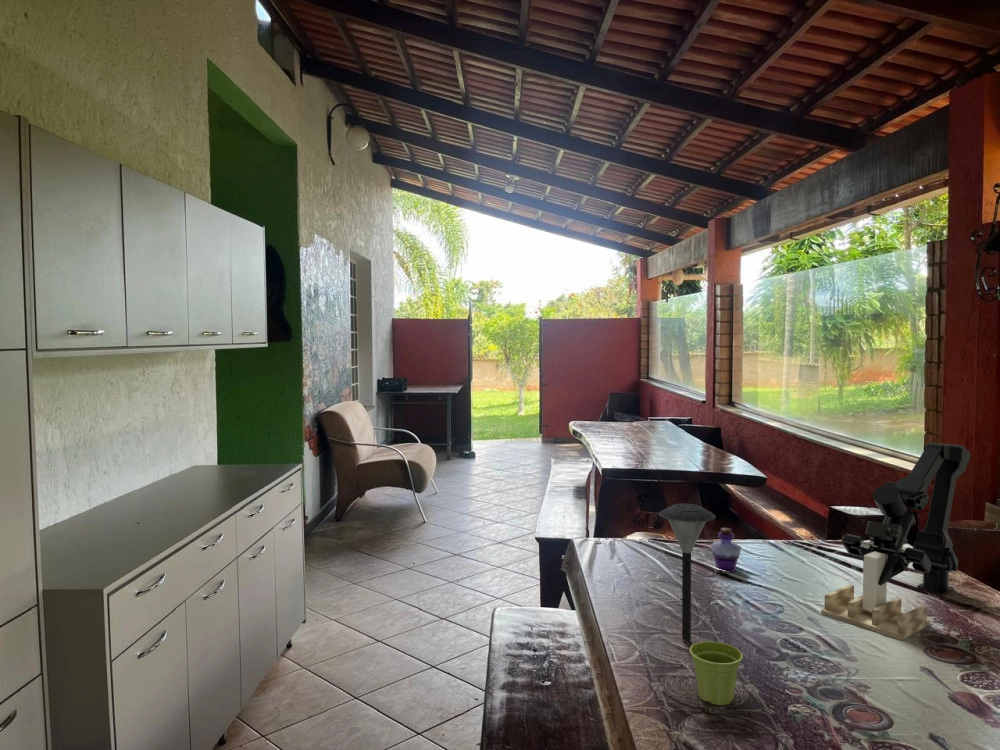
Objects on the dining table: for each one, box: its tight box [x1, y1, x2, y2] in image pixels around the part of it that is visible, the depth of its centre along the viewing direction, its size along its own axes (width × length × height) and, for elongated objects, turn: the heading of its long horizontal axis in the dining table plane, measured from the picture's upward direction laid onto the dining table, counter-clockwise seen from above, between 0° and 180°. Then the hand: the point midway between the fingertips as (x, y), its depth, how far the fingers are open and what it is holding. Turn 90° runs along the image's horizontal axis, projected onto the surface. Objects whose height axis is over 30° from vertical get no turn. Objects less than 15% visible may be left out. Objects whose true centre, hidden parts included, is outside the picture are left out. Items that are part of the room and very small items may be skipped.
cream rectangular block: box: [862, 551, 888, 612], centre depth 159 cm, size 5×3×13 cm, turn 124°
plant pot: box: [689, 640, 744, 706], centre depth 125 cm, size 9×9×9 cm
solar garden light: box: [658, 503, 717, 642], centre depth 149 cm, size 12×12×30 cm
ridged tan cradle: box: [820, 583, 931, 641], centre depth 160 cm, size 14×18×4 cm
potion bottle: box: [710, 527, 742, 571], centre depth 196 cm, size 9×9×12 cm
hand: (872, 582), depth 158 cm, fingers closed on cream rectangular block, 3 cm apart
